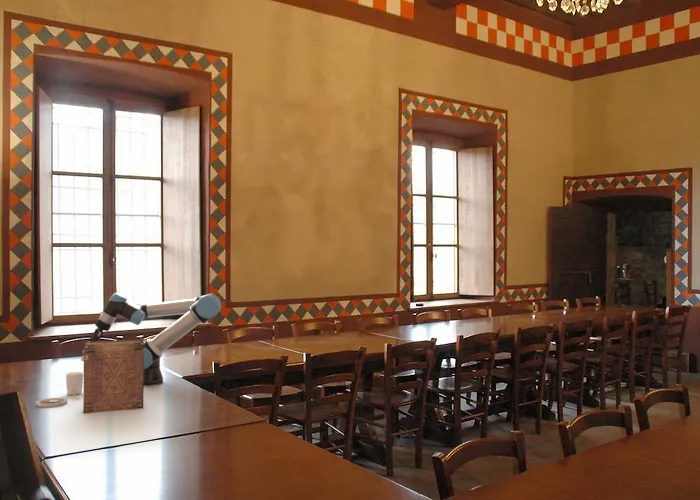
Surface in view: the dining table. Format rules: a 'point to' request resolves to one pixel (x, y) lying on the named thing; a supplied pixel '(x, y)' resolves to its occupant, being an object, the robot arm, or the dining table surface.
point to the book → (113, 375)
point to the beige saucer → (51, 402)
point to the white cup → (74, 383)
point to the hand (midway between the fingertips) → (84, 357)
